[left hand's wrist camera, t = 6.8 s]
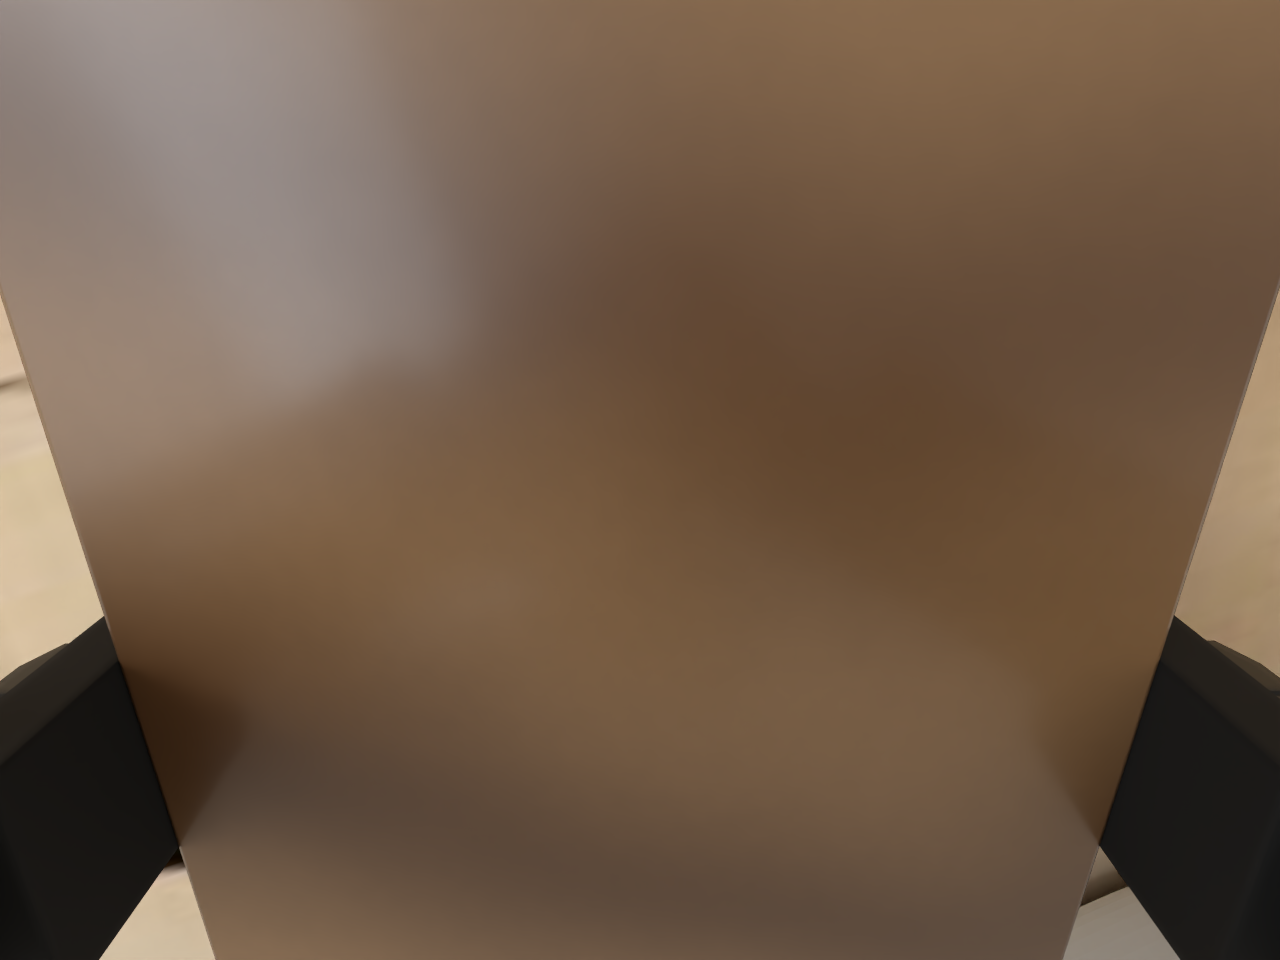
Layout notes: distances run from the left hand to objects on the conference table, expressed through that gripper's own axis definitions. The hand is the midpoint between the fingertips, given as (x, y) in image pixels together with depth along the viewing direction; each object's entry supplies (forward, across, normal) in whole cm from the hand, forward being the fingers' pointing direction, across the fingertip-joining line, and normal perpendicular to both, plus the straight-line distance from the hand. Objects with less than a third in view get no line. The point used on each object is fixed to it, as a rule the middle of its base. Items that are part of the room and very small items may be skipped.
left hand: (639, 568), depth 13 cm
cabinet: (+7, 0, -6) cm, 9 cm away
